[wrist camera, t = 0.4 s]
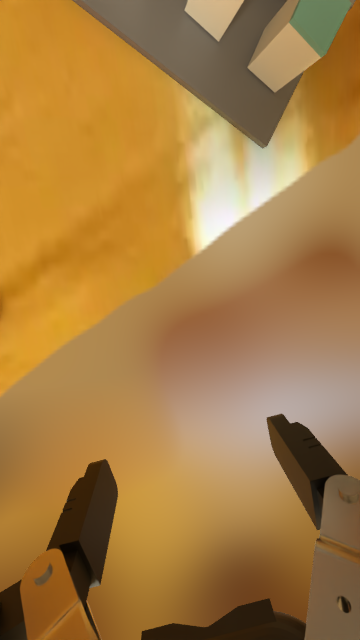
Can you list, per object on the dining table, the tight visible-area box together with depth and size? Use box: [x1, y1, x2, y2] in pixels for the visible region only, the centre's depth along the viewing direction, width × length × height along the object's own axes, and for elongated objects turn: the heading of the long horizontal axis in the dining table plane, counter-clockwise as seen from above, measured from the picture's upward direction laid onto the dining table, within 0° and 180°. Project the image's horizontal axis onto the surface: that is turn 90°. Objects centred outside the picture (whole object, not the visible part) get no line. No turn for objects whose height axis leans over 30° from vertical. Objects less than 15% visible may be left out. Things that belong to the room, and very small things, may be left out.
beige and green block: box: [247, 0, 352, 93], centre depth 26 cm, size 4×4×8 cm
